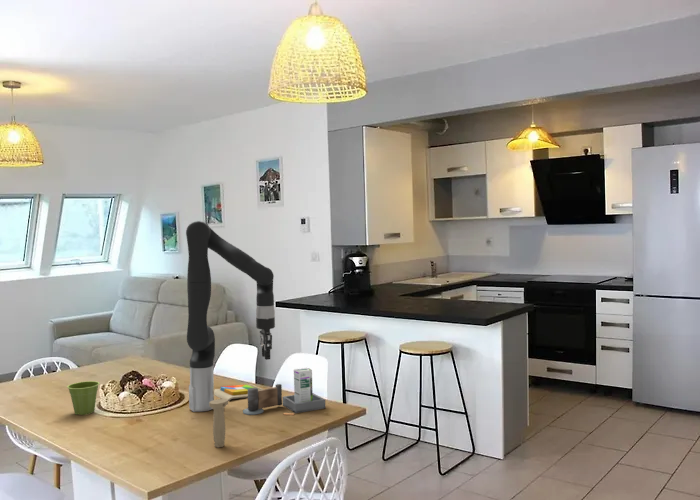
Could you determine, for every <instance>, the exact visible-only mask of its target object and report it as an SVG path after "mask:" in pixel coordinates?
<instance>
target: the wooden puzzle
mask: <svg viewBox="0 0 700 500" xmlns="http://www.w3.org/2000/svg"><path fill="white" fill-rule="evenodd" d="M249 388H258V390H263V389H264V388H261V387H259V386H256V385H254V384H252V383H248V384H239V385H237V384H236V385H222V386H220V388H214V397H217V398H218V399H227V400H228V402H230V401H231V400H235V399H245V398H246V399H248V389H249Z"/></svg>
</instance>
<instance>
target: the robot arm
mask: <svg viewBox="0 0 700 500" xmlns="http://www.w3.org/2000/svg"><path fill="white" fill-rule="evenodd" d="M185 236H186V242H187V243H186V244H187V252H188V262H187V278H186V279H187V281H186V282H187V283H186V285H187V290H186V291H187V292H186V293H187V311H188V316H187V317H188V320H187V331H186V343H187V345H188V347H189V348H190V349H191V350H192V351H191V353H192V354H191V357H190V359H189V384H188V409H190V410H191V412H193V413H194V412H208V411H211V410H214V409H213V408H211V407H210V406H209V402H210V401H213V400H215V395H214V389H215V388H214V387H215V382H214V381H215V380H214V377H215V376H214V360H215V355H216V354H215V352H216V345H215V344H216V337H215V333H214V330H213V328H211V326H209V325H208V319H207V318H208V310H209V305H210V302H211V296H212V276H211V275H212V273H211V269H210V263H209V262H210V261H209V254H208V251H209V249H210V250H211V251H213V252H214V253H216V254H217V255H219V256H220V257H221V258H222V259H223V260H225V261H226V262H227V263H228V264H230V265H232V266H233V267H234V268H236V269H237V270H239V271H241V272H242V273H243V274H245V275H247V276H248V277H250V278H251V279H252V280H254V281H255V282H256V309H255V325H256V326H255V328H256V329H258V330H259V341H260V343H259V344H260V347H261V356H262V358H264V359H265V360H271V350H272V349H273V335H272V333H271V329H274V328H276V314H275V313H276V311H275V310H276V309H275V295H274V277H275V276H274V272H273V271H272V269H270V268H269V267H267V266H264V265H263V264H262V263H260V262H258V261H257V260H256V259H254V257H252V256H251V255H249V254H248V253H246V252H245V251H243V250H242V249H240V248H238V247H236V246H235V245H233V244H232V243H230V242H229V241H227V240H225V239H224V238H223V237H221V236H220V235H219V234H217V233H216V231H214V230H213V229H212V228H211V227H210V225H209V224H208V223H206V222H204V221H201V220H195V221H192V222H191V223H190V224H188V226H187V227H186V230H185Z"/></svg>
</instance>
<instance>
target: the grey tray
mask: <svg viewBox="0 0 700 500" xmlns="http://www.w3.org/2000/svg"><path fill="white" fill-rule="evenodd" d="M312 393H313V401H309V402H303V403H295V399H294V394H291V395H285V396H284V395H283V396H282V406H283V407H285V408H286V409H287V410H290V411H291V412H292V413H294V414H300V413H305V412H311V411H317V410H322V409H326V399H325V398H323V397H321V396H319V395H318V394H315V393H314V392H312Z"/></svg>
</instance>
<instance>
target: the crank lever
mask: <svg viewBox="0 0 700 500" xmlns="http://www.w3.org/2000/svg"><path fill="white" fill-rule="evenodd" d="M262 389H263V390H258V388H249V389H248V397H247V408H248V410H249V411H256V410H258V409H261V408H262V409H265V408H271V407H277V406H278V407H279V406H283V395H282V394H283V393H282V390H283V386H282V384H281V383H279V384H278V383H277V384H275V387H269V388H262Z"/></svg>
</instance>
